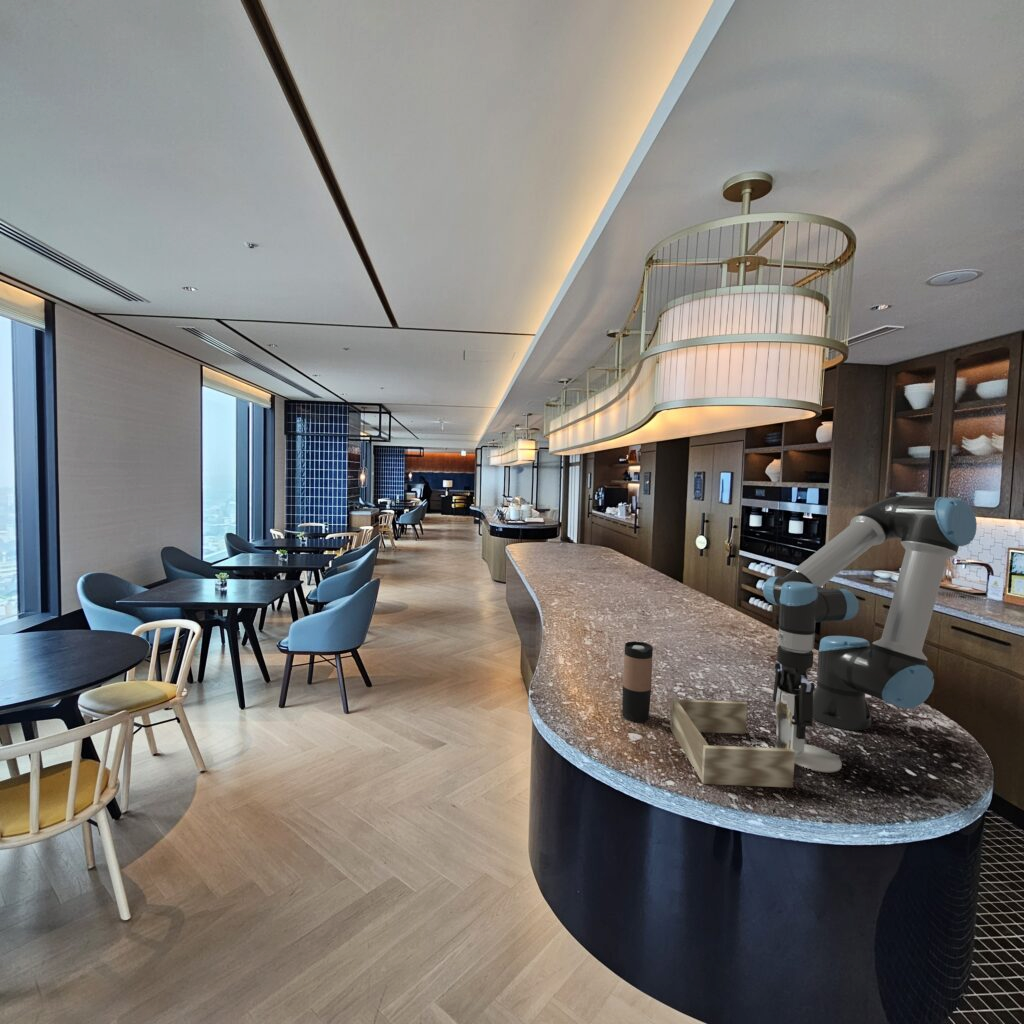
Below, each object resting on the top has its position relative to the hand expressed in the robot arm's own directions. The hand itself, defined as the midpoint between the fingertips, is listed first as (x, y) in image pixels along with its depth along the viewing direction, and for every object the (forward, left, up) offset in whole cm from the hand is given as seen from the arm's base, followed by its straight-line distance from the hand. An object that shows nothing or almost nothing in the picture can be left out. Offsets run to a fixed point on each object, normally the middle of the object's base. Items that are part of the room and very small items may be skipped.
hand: (789, 742), depth 126 cm
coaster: (-5, 0, -4) cm, 7 cm away
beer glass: (0, 0, -2) cm, 2 cm away
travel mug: (+33, -19, -4) cm, 38 cm away
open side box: (+15, 0, -4) cm, 15 cm away
